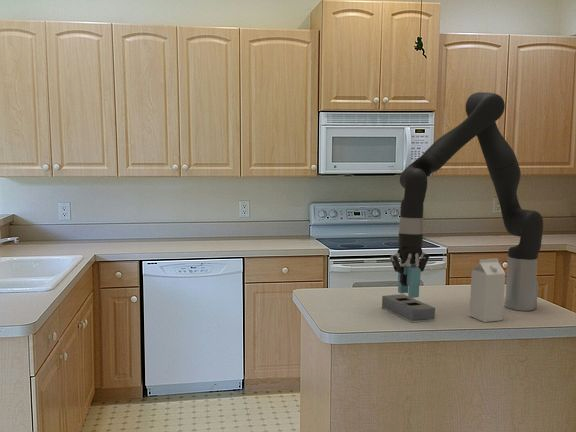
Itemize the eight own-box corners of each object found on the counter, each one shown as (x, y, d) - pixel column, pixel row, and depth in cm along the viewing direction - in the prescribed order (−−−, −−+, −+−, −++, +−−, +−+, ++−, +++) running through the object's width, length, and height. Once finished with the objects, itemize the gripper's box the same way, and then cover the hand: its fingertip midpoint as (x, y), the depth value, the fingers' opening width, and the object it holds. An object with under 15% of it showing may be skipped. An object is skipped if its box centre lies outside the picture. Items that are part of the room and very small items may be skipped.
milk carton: (469, 316, 182) (472, 257, 180) (487, 314, 184) (490, 256, 182) (484, 322, 175) (487, 261, 173) (502, 320, 177) (506, 260, 175)
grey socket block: (382, 307, 190) (382, 295, 190) (402, 305, 193) (403, 294, 192) (412, 322, 173) (412, 310, 173) (434, 320, 176) (435, 307, 176)
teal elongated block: (397, 292, 185) (398, 264, 184) (405, 291, 186) (406, 264, 186) (411, 298, 178) (412, 269, 177) (419, 297, 179) (420, 269, 178)
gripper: (422, 229, 186) (420, 281, 188) (385, 230, 181) (383, 284, 183) (436, 232, 179) (434, 286, 181) (398, 233, 174) (395, 289, 176)
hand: (408, 285), depth 182 cm, fingers closed on teal elongated block, 3 cm apart
